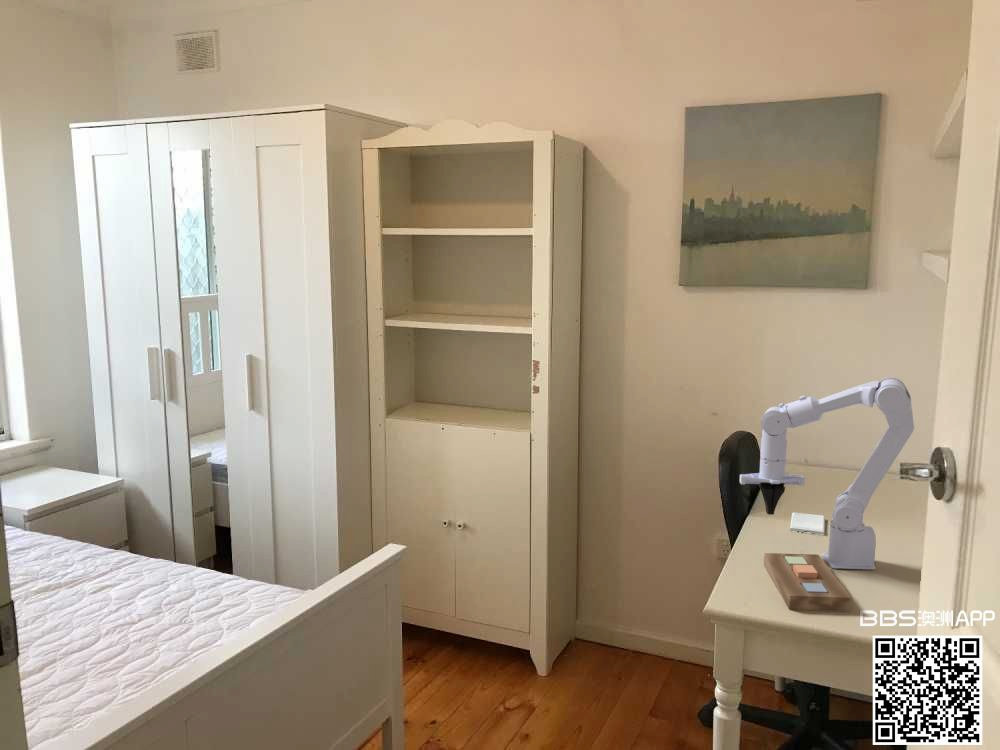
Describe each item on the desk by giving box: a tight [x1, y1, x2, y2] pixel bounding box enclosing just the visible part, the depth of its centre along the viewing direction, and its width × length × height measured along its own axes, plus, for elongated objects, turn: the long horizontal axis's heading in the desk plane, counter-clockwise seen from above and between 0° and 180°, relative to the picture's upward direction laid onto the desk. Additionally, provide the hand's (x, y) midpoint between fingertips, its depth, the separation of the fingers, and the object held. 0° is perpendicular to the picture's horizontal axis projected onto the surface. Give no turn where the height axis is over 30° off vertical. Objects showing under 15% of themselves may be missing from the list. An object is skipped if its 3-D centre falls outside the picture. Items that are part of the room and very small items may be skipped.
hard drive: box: [789, 511, 826, 535], centre depth 211 cm, size 2×8×12 cm
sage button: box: [784, 556, 808, 565], centre depth 181 cm, size 4×4×2 cm
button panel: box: [763, 552, 852, 613], centre depth 175 cm, size 12×22×3 cm, turn 175°
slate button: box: [802, 583, 828, 593], centre depth 168 cm, size 4×4×2 cm
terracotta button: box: [793, 565, 818, 579], centre depth 174 cm, size 4×4×2 cm
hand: (769, 513), depth 193 cm, fingers closed
